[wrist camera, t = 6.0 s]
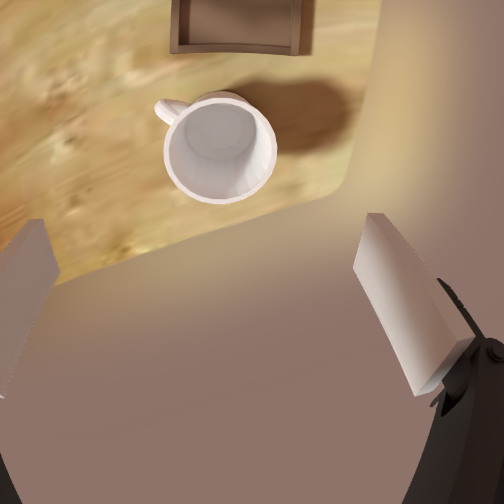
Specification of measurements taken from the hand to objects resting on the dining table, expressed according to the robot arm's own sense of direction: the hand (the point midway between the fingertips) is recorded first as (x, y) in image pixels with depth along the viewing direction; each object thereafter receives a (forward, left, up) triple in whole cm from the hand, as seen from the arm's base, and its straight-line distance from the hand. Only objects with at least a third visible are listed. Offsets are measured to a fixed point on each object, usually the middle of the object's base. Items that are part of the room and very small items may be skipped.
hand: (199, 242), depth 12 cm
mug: (0, 0, -24) cm, 24 cm away
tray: (-14, +2, -24) cm, 28 cm away
